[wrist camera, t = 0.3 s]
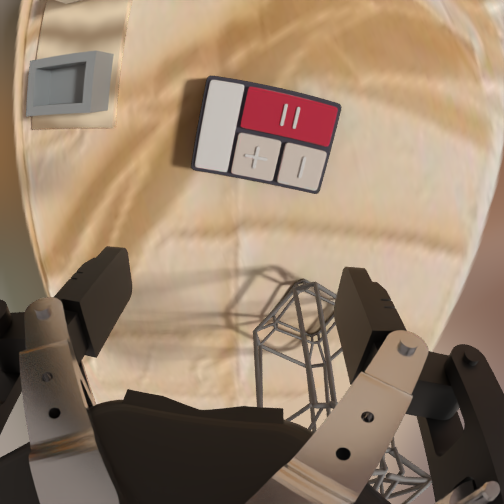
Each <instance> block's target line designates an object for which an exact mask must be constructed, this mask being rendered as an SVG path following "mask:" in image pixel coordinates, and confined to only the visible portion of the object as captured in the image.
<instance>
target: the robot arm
mask: <svg viewBox="0 0 504 504" xmlns="http://www.w3.org/2000/svg"><path fill="white" fill-rule="evenodd" d="M131 293H132V280H131V273H130V265H129V258H128V252H127V250H126V248H120V247H109V246H107V247H106V248H105V249H104V250H103V251H102V252H101V253H100V254H99V255H98V256H97V257H96V258H93V259H91V260H89V261H88V262H86V263H84V264H83V265H82V266H81V267H80V268H79V269H78V270H77V273H75V274H74V275H73V276H72V277H71V279H69V280H68V281H67V283H66V284H65V285H64V286H63V287H62V288H61V289H60V291H59V292H58V293H57V294H56V295H55V296H54V297H45V298H41V299H38V300H36V301H34V302H32V303H31V304H30V305H29V306H28V307H27V308H26V310H25V312H19V313H10V312H9V309H8V307H7V304H6V302H5V301H3V300H0V434H1V432H2V430H3V427H4V425H5V423H6V421H7V419H8V417H9V415H10V413H11V411H12V409H13V407H14V405H15V403H16V401H17V399H18V397H19V396H20V394H21V392H22V394H23V403H24V410H25V417H26V422H27V429H28V434H29V439H30V442H28V443H27V444H25V445H23V446H21V447H19V448H17V449H15V450H14V451H12V452H10V453H8V454H6V455H4V456H2V457H1V458H0V504H391V503H390V502H389V501H387V499H385V498H384V497H383V496H382V495H381V494H380V493H379V492H377V491H376V490H375V489H374V488H373V487H372V486H371V485H370V484H369V483H368V481H369V479H370V477H371V476H372V474H373V473H374V471H375V469H376V467H377V466H378V464H379V463H380V461H381V459H382V457H383V456H384V454H385V452H386V450H387V448H388V447H389V445H390V443H391V441H392V439H393V437H394V435H395V433H396V431H397V429H398V427H399V425H400V423H401V421H402V419H403V417H404V415H405V414H409V415H414V416H417V419H418V423H419V427H420V431H421V435H422V439H423V443H424V448H425V452H426V456H427V461H428V465H429V470H430V475H431V480H432V485H433V490H434V496H435V502H436V503H435V504H504V393H503V391H502V389H501V387H500V385H499V383H498V381H497V380H496V377H495V375H494V373H493V372H492V369H491V368H490V366H489V364H488V362H487V360H486V358H485V357H484V355H483V354H482V353H481V352H480V351H479V350H477V349H476V348H474V347H472V346H469V345H465V344H461V345H457V346H455V347H454V348H453V350H452V351H451V353H450V355H449V356H448V355H443V354H438V353H434V352H430V351H428V346H427V344H426V343H425V341H424V340H423V339H422V338H421V337H419V336H418V335H416V334H414V333H412V332H409V331H407V330H406V328H405V326H404V324H403V322H402V320H401V318H400V316H399V314H398V312H397V310H396V309H395V306H394V304H393V302H392V301H391V298H390V297H389V295H388V293H387V291H386V290H385V289H384V288H383V287H382V286H381V285H380V284H378V283H377V282H372V281H371V279H370V277H369V275H368V273H367V271H366V269H365V268H355V267H345V268H344V269H343V272H342V276H341V280H340V284H339V288H338V292H337V296H336V300H335V306H334V318H335V322H336V326H337V330H338V334H339V338H340V342H341V346H342V351H343V355H344V359H345V363H346V367H347V372H348V376H349V380H350V384H351V386H350V388H349V389H348V391H347V392H346V393H345V395H344V396H343V398H342V399H341V400H340V402H339V403H338V404H337V405H336V407H335V408H334V409H333V411H332V412H331V413H330V414H329V416H328V417H327V418H326V419H325V421H324V422H323V423H322V425H321V426H320V427H319V428H318V429H317V431H316V432H315V433H313V432H312V431H310V430H309V429H307V428H305V427H303V426H301V425H298V424H296V423H293V422H290V421H287V420H283V408H262V407H248V406H241V407H232V408H223V409H212V410H199V409H196V408H193V407H190V406H187V405H185V404H182V403H179V402H177V401H174V400H172V399H169V398H167V397H164V396H160V395H154V394H148V393H143V392H138V391H133V390H127V392H126V395H125V397H124V400H114V401H108V402H103V403H100V404H97V405H96V402H95V399H94V396H93V393H92V390H91V387H90V384H89V381H88V378H87V375H86V371H85V368H84V365H83V362H82V359H83V357H84V355H87V356H91V357H96V358H97V356H98V354H99V352H100V351H101V349H102V347H103V345H104V343H105V341H106V340H107V338H108V336H109V334H110V332H111V331H112V329H113V327H114V325H115V324H116V322H117V320H118V318H119V317H120V315H121V313H122V312H123V310H124V308H125V306H126V305H127V303H128V301H129V300H130V297H131ZM459 408H460V410H461V413H462V416H463V419H464V423H465V428H464V430H463V427H462V424H461V421H460V418H459V415H458V412H457V410H458V409H459Z"/></svg>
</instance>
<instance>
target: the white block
mask: <svg viewBox="0 0 504 504" xmlns="http://www.w3.org/2000/svg"><path fill="white" fill-rule="evenodd" d="M56 1H59V2H62V3H65V4H68V3H72V2H77V1H82V0H56Z"/></svg>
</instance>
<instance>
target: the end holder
mask: <svg viewBox="0 0 504 504" xmlns="http://www.w3.org/2000/svg"><path fill="white" fill-rule="evenodd" d="M113 56H114V54H111V53H106V52H101V51H97V50H96V51H87V52H79V53H72V54H65V55H59V56H53V57H48V58H43V59H38V60H33V61H30V67H29V77H28V89H27V107H26V117H27V116H38V115H52V114H70V113H92V112H99V111H107V110H108V103H109V91H110V81H111V72H112V63H113Z"/></svg>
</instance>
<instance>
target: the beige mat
mask: <svg viewBox="0 0 504 504" xmlns="http://www.w3.org/2000/svg"><path fill="white" fill-rule="evenodd" d="M131 3H132V0H82V1H77V2H72V3H68V4H65V3H62V2H59V1H56V0H47V2H46V7H45V11H44V16H43V21H42V26H41V32H40V38H39V44H38V51H37V59H36V60H38V59H43V58H48V57H53V56H59V55H65V54H72V53H79V52H87V51H96V50H97V51H101V52H106V53H111V54H114V56H113V63H112V72H111V81H110V91H109V103H108V110H107V111H99V112H92V113H70V114H52V115H38V116H32V130H33V129H55V128H115V127H116V114H117V101H118V90H119V80H120V72H121V63H122V56H123V49H124V42H125V36H126V30H127V24H128V18H129V13H130V8H131Z"/></svg>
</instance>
